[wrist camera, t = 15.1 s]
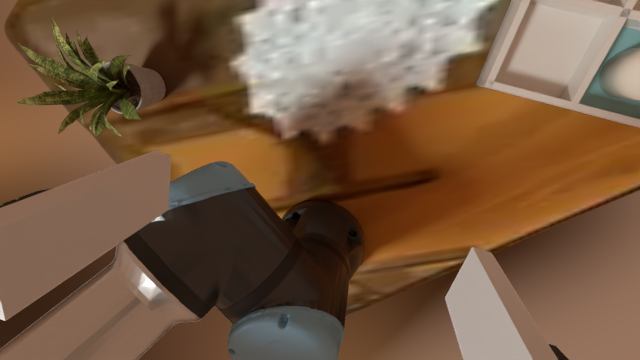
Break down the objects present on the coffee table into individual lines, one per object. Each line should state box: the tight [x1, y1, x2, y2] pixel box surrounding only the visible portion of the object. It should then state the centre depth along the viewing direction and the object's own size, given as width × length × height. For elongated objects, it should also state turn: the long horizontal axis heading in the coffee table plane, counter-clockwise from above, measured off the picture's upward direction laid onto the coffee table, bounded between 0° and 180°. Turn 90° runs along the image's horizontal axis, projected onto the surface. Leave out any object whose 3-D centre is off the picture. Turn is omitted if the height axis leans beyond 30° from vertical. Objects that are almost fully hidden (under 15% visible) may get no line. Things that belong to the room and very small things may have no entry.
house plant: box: [18, 19, 166, 137], centre depth 39 cm, size 14×14×16 cm
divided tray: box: [476, 0, 640, 128], centre depth 33 cm, size 20×20×4 cm
